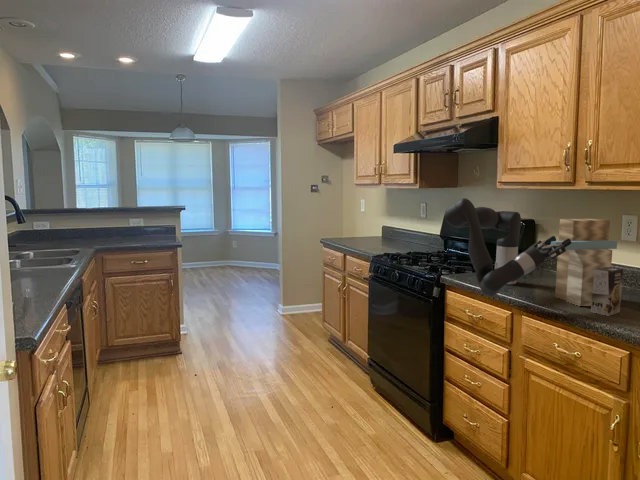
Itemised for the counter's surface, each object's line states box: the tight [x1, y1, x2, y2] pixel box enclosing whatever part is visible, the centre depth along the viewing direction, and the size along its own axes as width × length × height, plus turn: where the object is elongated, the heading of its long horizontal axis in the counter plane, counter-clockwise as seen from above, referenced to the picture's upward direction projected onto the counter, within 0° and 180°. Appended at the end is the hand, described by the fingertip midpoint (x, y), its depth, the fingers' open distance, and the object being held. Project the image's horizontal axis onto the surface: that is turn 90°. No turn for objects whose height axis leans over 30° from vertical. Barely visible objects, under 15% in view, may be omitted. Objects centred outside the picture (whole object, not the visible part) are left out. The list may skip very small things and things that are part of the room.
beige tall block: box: [565, 249, 613, 307], centre depth 188 cm, size 12×8×22 cm, turn 100°
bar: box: [550, 239, 618, 250], centre depth 186 cm, size 26×3×3 cm, turn 100°
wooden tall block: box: [554, 218, 611, 301], centre depth 196 cm, size 16×8×32 cm, turn 100°
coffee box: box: [590, 267, 624, 317], centre depth 176 cm, size 9×6×16 cm
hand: (562, 239), depth 184 cm, fingers open, 8 cm apart
